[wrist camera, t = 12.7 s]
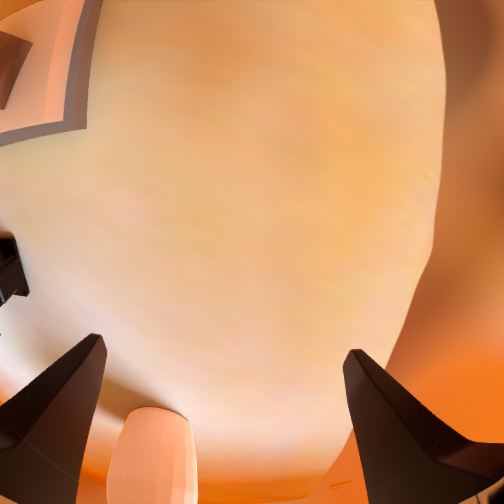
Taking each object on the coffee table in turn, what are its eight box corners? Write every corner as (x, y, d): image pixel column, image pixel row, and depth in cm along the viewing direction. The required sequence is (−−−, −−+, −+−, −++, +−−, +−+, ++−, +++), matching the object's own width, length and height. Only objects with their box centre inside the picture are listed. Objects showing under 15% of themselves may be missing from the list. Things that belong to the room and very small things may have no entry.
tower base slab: (-5, 148, 16) (-21, 152, 14) (7, 35, 11) (-8, 32, 9) (90, 128, 17) (75, 129, 15) (107, -3, 12) (95, -14, 10)
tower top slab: (-17, 137, 13) (-35, 141, 11) (-1, 34, 9) (-18, 30, 7) (63, 120, 15) (43, 121, 12) (84, 0, 10) (70, -11, 8)
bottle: (132, 434, 34) (115, 572, 11) (112, 395, 29) (78, 570, 6) (202, 442, 35) (204, 587, 12) (197, 405, 30) (196, 598, 7)
